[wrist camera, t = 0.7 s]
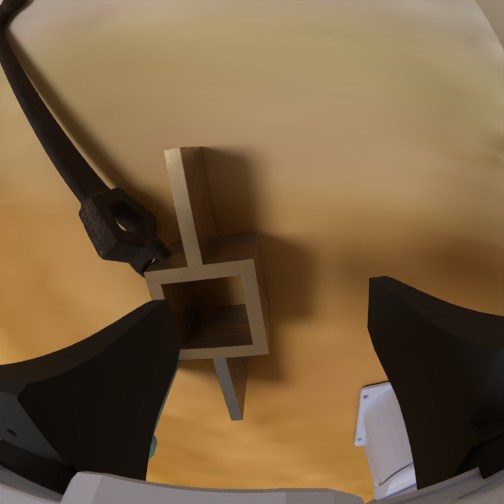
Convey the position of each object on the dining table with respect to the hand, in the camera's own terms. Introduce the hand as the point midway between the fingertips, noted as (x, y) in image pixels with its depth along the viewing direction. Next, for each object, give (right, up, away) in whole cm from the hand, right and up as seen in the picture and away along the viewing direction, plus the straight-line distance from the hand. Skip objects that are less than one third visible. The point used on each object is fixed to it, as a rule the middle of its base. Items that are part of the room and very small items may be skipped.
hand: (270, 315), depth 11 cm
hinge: (-3, 0, +11) cm, 11 cm away
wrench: (-14, +14, +7) cm, 21 cm away
